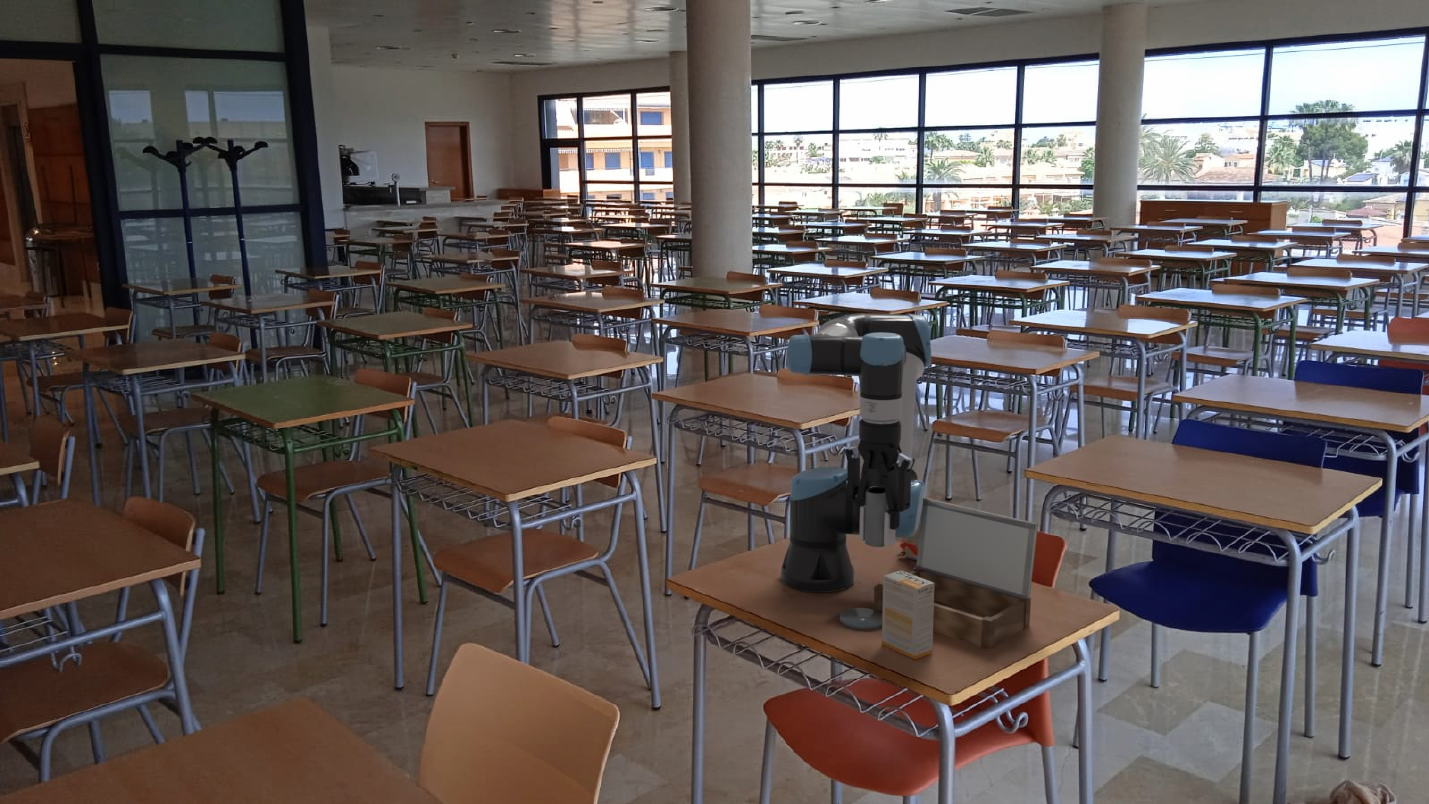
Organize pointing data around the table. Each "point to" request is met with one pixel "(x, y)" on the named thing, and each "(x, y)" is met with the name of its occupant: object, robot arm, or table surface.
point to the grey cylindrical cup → (875, 516)
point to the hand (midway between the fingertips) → (877, 541)
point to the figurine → (911, 544)
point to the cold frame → (984, 632)
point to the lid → (977, 547)
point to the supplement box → (908, 614)
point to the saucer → (861, 619)
